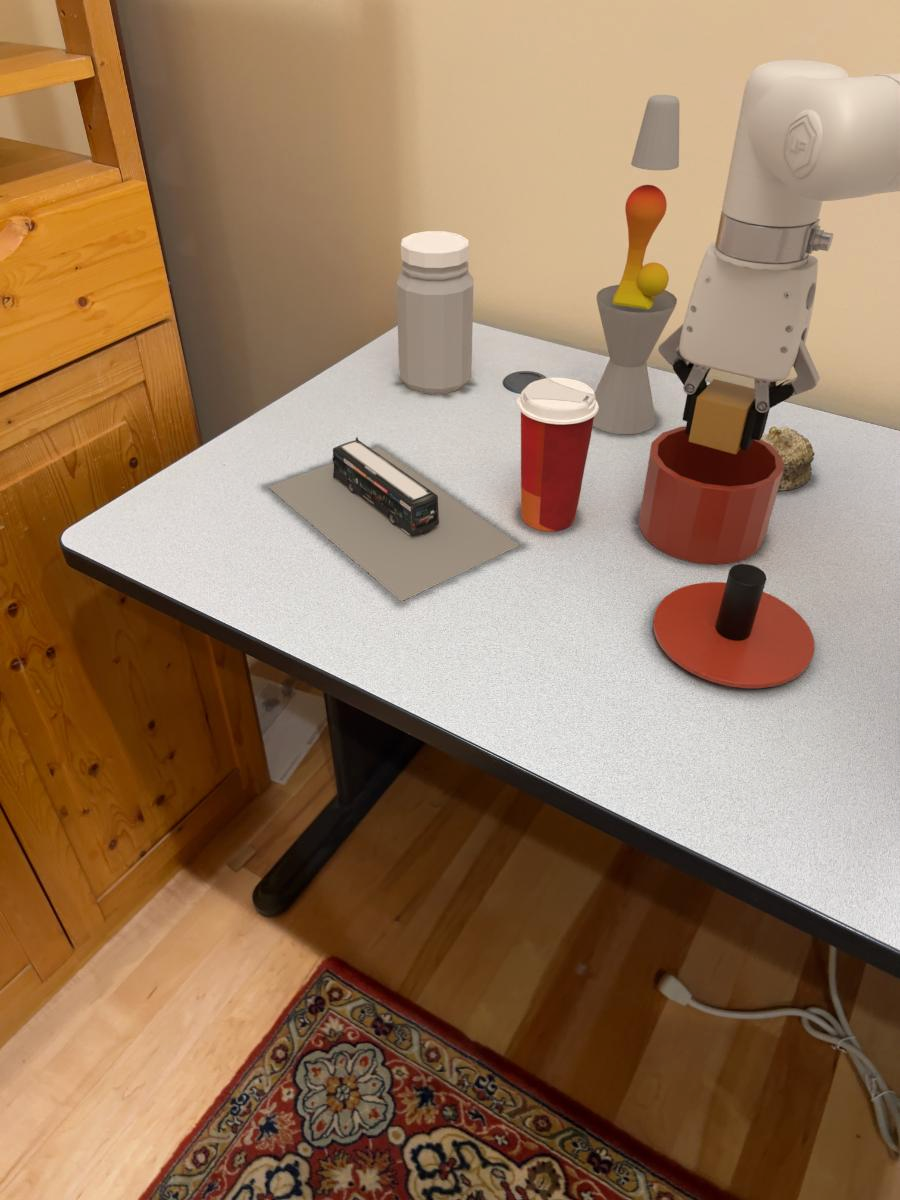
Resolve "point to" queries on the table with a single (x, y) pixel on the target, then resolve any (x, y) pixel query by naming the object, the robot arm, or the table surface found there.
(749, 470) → the pot
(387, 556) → the flat grey placemat
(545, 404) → the paper cup
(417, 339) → the jar
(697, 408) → the block
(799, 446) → the cake
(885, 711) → the table surface
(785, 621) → the lid
